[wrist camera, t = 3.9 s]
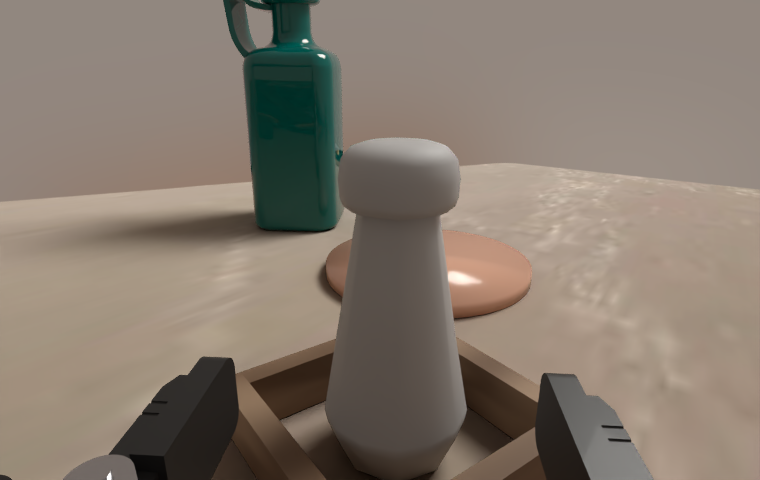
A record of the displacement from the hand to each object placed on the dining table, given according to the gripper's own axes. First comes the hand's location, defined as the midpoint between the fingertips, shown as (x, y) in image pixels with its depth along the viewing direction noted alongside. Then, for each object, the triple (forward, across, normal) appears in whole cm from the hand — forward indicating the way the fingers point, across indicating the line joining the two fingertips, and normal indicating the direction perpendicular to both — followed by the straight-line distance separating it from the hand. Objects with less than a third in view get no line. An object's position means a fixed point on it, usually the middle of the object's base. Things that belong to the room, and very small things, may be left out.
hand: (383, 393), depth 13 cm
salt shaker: (+6, 0, +8) cm, 10 cm away
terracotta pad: (+26, -2, +8) cm, 27 cm away
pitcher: (+39, +12, +8) cm, 42 cm away
